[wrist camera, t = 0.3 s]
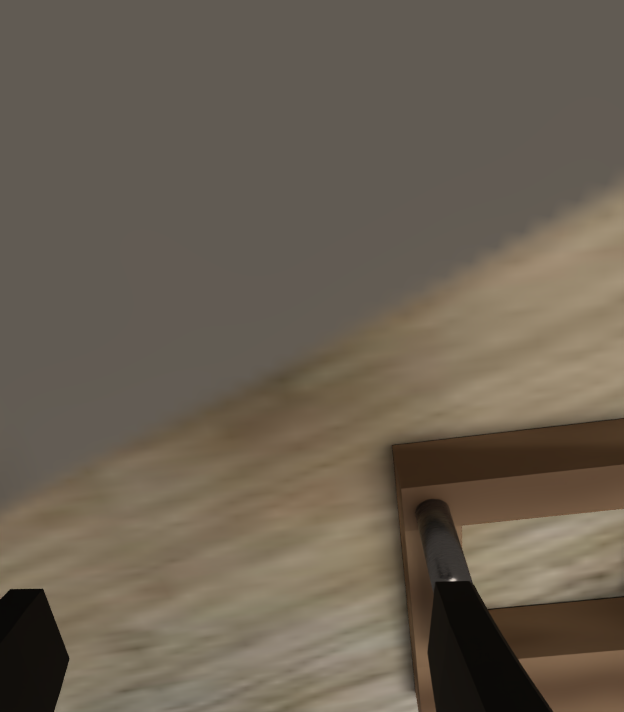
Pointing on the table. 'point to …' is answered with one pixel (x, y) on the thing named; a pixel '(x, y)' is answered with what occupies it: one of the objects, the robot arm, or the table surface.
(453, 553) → the hook
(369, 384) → the table surface
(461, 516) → the brown square frame
